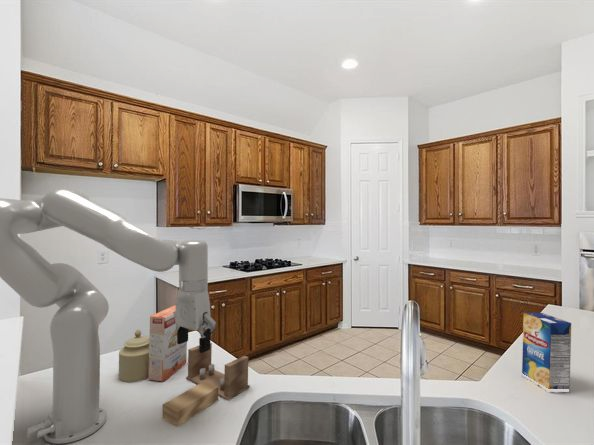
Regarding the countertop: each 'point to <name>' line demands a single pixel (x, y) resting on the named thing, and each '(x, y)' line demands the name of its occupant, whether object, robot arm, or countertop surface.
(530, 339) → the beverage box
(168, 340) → the cracker box
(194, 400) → the light wood rectangular block
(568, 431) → the countertop surface
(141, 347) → the sugar bowl
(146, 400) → the countertop surface
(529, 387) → the countertop surface
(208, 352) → the rack
